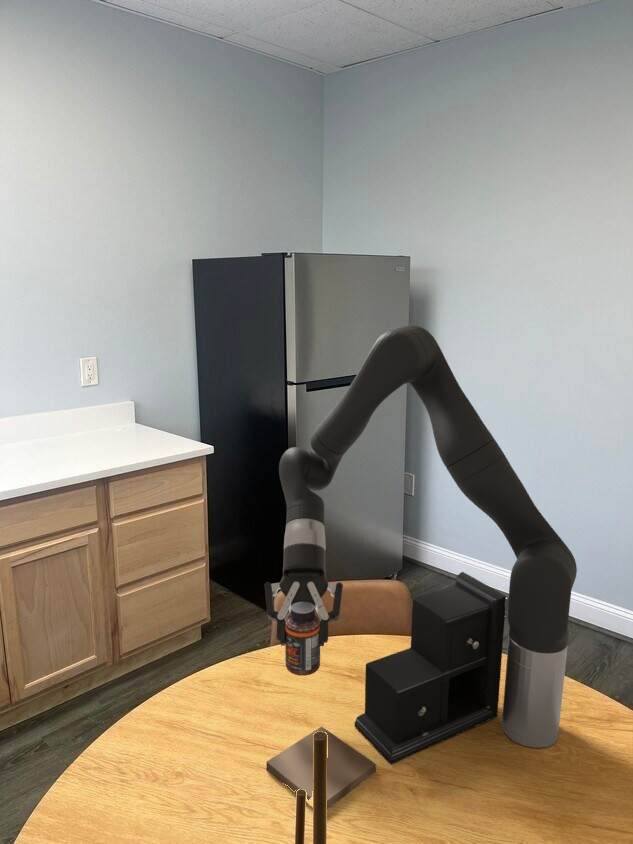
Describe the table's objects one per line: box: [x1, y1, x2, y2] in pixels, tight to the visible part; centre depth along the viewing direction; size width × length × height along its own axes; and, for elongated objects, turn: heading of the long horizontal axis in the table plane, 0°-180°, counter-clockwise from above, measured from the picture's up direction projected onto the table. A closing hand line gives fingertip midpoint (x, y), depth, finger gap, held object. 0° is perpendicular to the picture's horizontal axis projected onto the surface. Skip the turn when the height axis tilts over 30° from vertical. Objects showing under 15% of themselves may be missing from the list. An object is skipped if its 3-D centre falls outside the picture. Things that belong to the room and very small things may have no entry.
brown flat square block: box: [265, 726, 377, 810], centre depth 103 cm, size 12×12×2 cm
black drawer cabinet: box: [354, 571, 507, 765], centre depth 113 cm, size 23×11×24 cm, turn 120°
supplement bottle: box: [284, 602, 321, 677], centre depth 113 cm, size 6×6×11 cm
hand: (302, 644), depth 111 cm, fingers closed on supplement bottle, 6 cm apart
